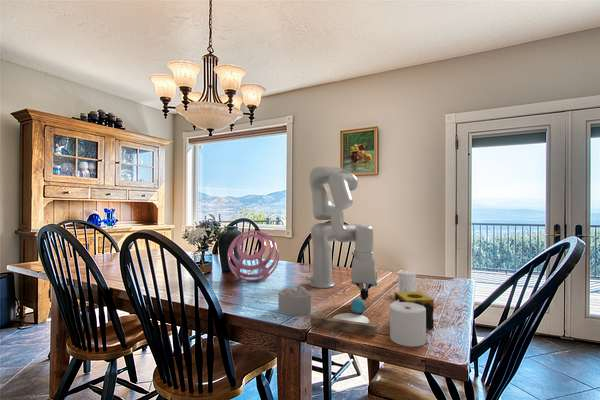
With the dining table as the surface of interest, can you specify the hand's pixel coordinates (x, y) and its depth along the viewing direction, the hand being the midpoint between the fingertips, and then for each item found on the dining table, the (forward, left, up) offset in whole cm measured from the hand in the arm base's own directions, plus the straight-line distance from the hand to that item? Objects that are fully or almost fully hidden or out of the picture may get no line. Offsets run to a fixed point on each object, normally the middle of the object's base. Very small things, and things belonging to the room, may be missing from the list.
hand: (364, 299), depth 138 cm
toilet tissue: (+20, -31, -2) cm, 37 cm away
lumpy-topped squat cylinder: (-22, -21, -2) cm, 30 cm away
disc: (0, -22, -2) cm, 22 cm away
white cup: (+15, +20, -2) cm, 25 cm away
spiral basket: (-65, +16, -2) cm, 67 cm away
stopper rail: (0, -32, -2) cm, 32 cm away
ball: (+1, -14, +1) cm, 14 cm away
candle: (+21, -17, -2) cm, 27 cm away
